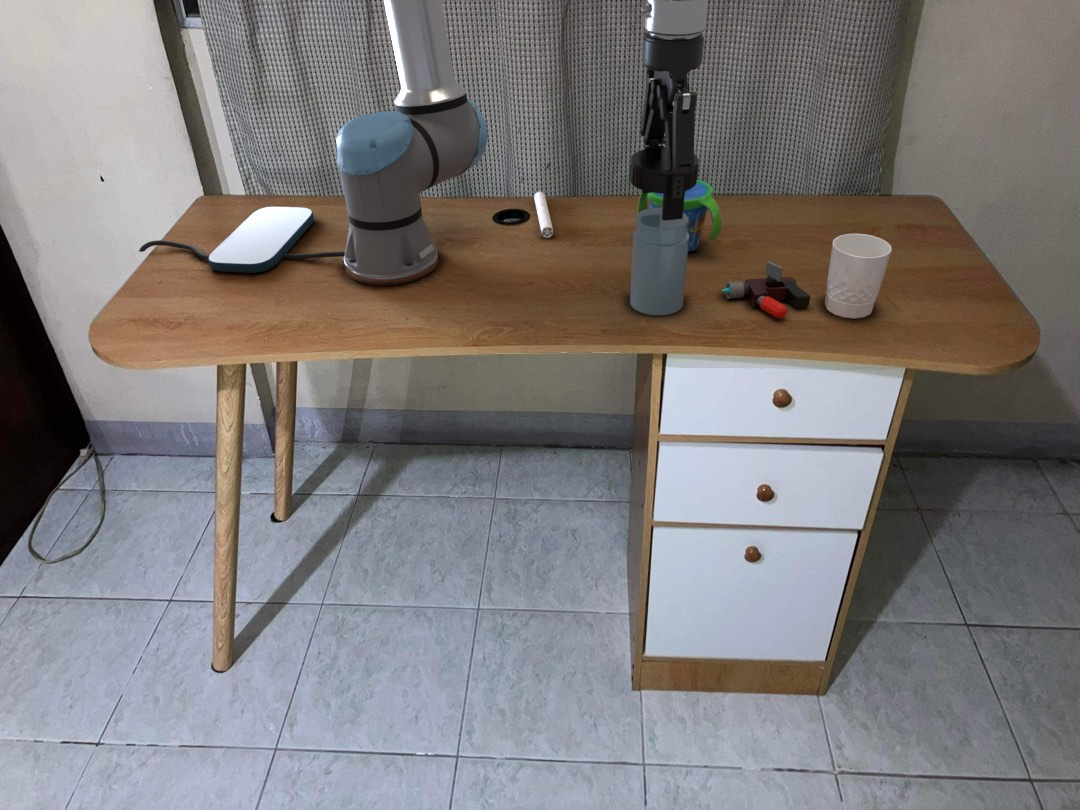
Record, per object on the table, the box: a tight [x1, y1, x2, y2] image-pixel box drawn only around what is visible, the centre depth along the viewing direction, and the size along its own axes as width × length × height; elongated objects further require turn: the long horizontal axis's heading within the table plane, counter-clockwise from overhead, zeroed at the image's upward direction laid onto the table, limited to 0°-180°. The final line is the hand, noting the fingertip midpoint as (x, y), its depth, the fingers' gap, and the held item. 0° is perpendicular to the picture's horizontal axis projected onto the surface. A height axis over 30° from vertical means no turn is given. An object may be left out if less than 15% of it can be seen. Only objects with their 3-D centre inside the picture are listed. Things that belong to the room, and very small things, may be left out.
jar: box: [629, 207, 689, 316], centre depth 121 cm, size 8×8×14 cm
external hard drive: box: [207, 206, 315, 274], centre depth 145 cm, size 24×12×2 cm, turn 172°
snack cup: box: [636, 178, 722, 253], centre depth 138 cm, size 16×10×10 cm
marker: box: [534, 191, 554, 239], centre depth 151 cm, size 18×2×2 cm, turn 5°
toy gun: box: [720, 260, 811, 319], centre depth 122 cm, size 10×12×5 cm
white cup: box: [824, 233, 893, 319], centre depth 119 cm, size 8×8×10 cm
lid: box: [629, 147, 700, 194], centre depth 113 cm, size 9×9×3 cm
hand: (661, 204), depth 116 cm, fingers closed on lid, 9 cm apart
